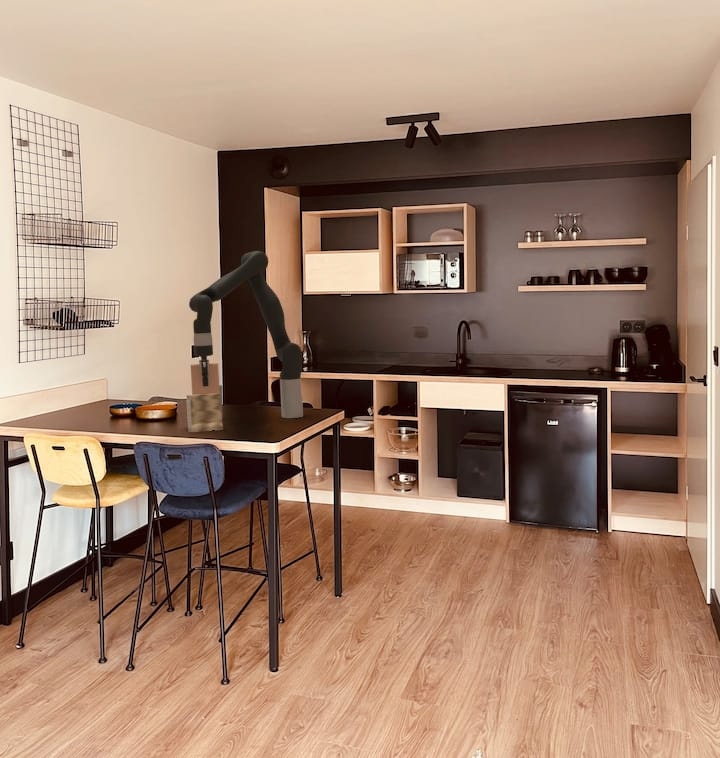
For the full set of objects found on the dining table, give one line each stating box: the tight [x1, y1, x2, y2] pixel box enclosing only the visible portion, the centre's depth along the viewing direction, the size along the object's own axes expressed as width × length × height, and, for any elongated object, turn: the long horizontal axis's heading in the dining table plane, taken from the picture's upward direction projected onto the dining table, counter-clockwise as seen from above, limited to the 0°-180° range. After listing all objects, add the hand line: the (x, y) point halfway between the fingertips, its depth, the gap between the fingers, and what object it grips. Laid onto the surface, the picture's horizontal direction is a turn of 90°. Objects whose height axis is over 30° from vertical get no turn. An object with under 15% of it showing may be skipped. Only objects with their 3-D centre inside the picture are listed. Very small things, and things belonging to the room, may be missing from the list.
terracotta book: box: [190, 362, 220, 395], centre depth 306 cm, size 11×4×12 cm, turn 102°
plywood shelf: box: [186, 393, 224, 433], centre depth 310 cm, size 14×13×14 cm
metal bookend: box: [185, 397, 192, 430], centre depth 308 cm, size 2×12×11 cm, turn 12°
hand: (205, 385), depth 306 cm, fingers closed on terracotta book, 4 cm apart
